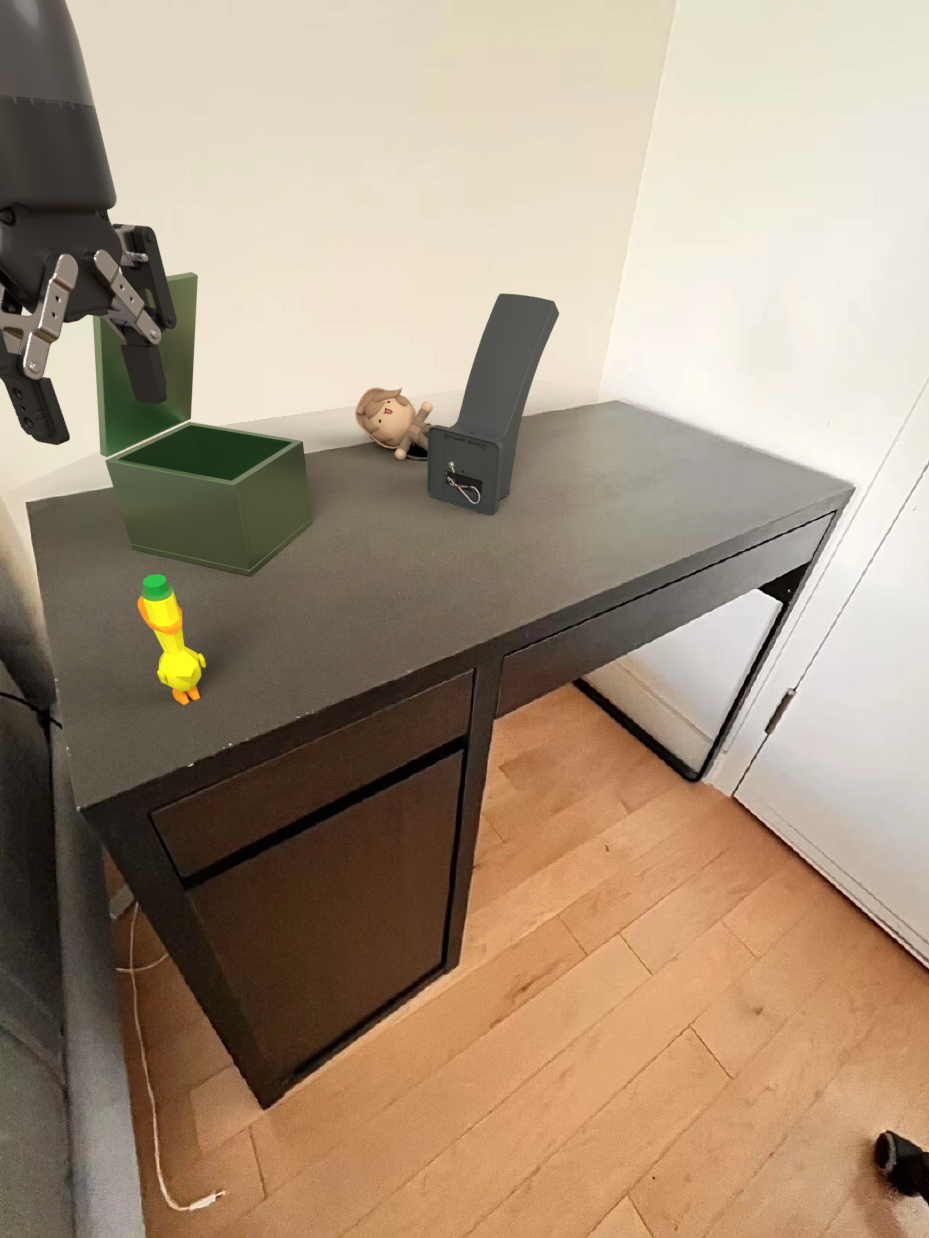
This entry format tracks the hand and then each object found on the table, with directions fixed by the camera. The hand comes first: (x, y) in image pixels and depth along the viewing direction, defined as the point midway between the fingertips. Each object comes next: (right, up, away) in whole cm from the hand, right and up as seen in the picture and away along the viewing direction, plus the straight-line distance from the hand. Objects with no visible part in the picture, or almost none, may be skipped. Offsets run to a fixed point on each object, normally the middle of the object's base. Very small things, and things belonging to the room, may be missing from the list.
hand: (106, 420), depth 40 cm
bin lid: (-9, +14, +24) cm, 30 cm away
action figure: (+14, +14, +59) cm, 62 cm away
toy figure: (0, -19, +13) cm, 23 cm away
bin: (-6, -3, +35) cm, 35 cm away
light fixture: (+27, +6, +50) cm, 57 cm away
